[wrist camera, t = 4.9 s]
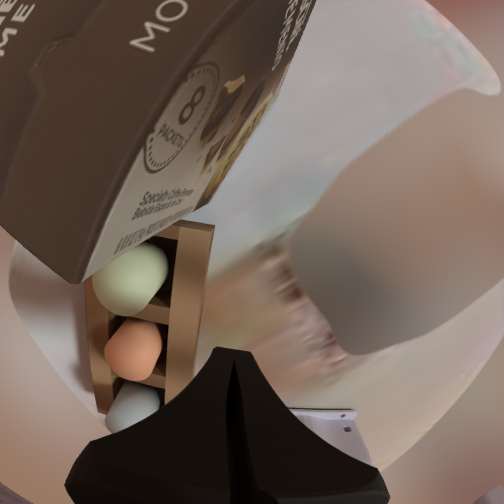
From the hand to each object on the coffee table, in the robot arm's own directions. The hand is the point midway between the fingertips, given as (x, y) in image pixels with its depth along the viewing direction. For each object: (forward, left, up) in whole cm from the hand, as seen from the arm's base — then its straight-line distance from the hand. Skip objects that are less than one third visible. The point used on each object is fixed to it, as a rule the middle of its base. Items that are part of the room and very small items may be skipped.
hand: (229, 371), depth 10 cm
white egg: (+6, +11, -8) cm, 15 cm away
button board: (+6, +5, -10) cm, 13 cm away
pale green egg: (+6, -1, -8) cm, 10 cm away
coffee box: (+4, -10, -11) cm, 15 cm away
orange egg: (+6, +5, -10) cm, 12 cm away
